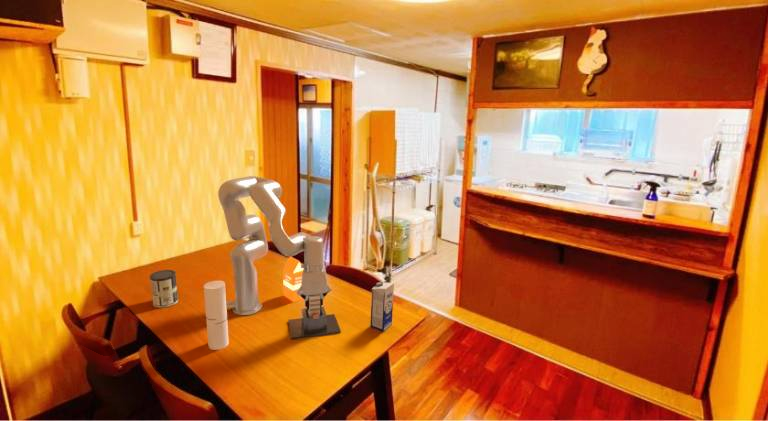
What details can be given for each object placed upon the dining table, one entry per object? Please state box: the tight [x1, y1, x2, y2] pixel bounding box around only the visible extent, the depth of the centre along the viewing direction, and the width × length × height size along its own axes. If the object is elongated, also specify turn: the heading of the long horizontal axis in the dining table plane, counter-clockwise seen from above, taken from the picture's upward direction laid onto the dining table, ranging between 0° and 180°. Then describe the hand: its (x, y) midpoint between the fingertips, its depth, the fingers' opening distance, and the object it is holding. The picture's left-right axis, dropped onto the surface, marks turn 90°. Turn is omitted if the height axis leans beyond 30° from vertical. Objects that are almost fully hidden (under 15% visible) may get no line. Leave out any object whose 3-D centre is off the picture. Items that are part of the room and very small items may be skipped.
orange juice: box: [282, 256, 304, 303], centre depth 184 cm, size 8×9×20 cm
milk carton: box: [369, 281, 395, 333], centre depth 161 cm, size 7×7×20 cm
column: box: [308, 294, 320, 317], centre depth 158 cm, size 4×5×14 cm
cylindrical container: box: [203, 280, 230, 351], centre depth 143 cm, size 7×7×25 cm
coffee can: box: [149, 269, 179, 309], centre depth 173 cm, size 10×10×14 cm
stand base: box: [288, 306, 342, 341], centre depth 159 cm, size 20×14×9 cm
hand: (314, 306), depth 158 cm, fingers closed on column, 4 cm apart
